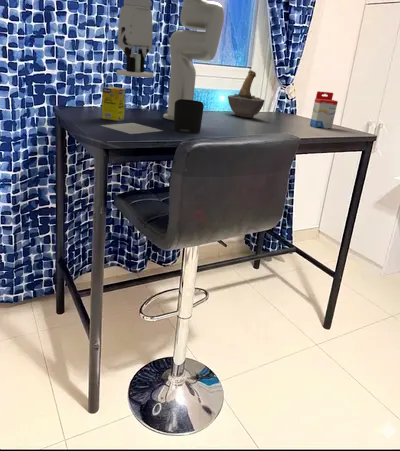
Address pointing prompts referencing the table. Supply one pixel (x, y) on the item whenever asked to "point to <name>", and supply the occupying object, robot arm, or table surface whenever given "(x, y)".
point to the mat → (131, 128)
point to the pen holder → (188, 116)
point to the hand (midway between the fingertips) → (135, 71)
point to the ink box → (323, 110)
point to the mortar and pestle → (246, 99)
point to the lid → (137, 69)
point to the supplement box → (113, 103)
